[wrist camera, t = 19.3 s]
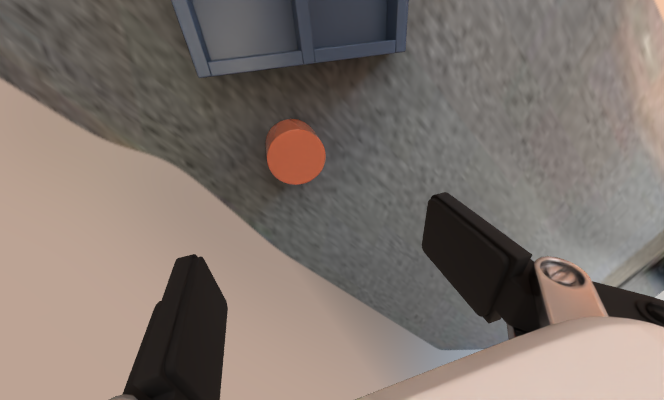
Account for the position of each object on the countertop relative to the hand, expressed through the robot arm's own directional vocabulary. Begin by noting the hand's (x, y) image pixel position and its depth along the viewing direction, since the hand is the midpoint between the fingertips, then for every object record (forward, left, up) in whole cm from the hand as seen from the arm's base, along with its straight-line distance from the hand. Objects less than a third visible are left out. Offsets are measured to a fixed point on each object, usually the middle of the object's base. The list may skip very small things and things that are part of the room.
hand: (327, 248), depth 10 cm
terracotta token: (0, 0, -13) cm, 13 cm away
